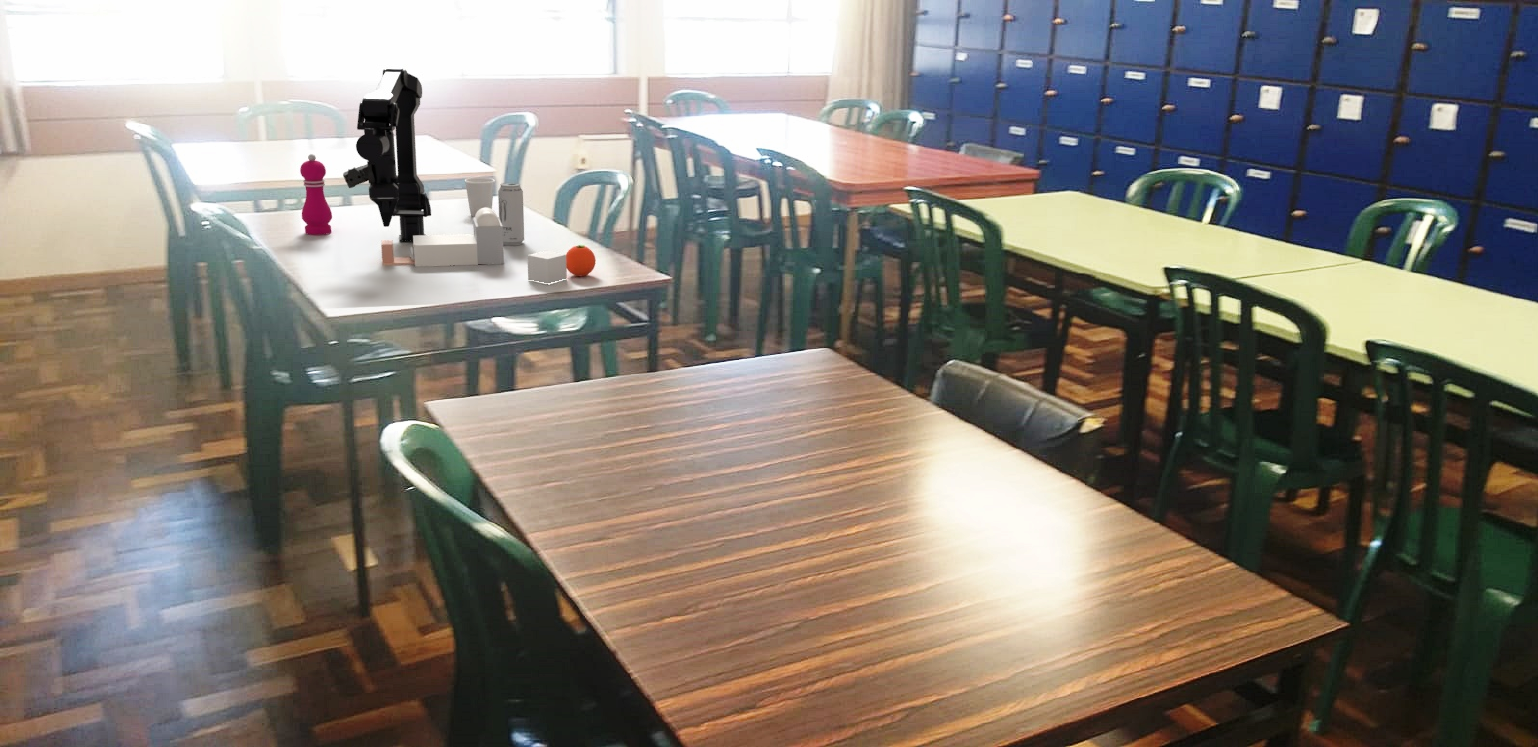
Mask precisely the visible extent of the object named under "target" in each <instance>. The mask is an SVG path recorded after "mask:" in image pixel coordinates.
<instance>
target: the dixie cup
mask: <svg viewBox="0 0 1538 747" xmlns="http://www.w3.org/2000/svg"><path fill="white" fill-rule="evenodd" d="M495 182H496V180H495V179H494V178H490V177H469V178H465V179H464V183H465V189H466V194H467V195H466V196H467V201H468V206H469V212H470V213H469V214H470V216H471V217H473V218H475V216H476V213H477V211H478V210H480V209H481V208H485V207H486V208H490V209H492V210H493V201H494V200H493V199H494V190H495V189H494V187H495Z"/></svg>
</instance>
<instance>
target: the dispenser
mask: <svg viewBox="0 0 1538 747" xmlns="http://www.w3.org/2000/svg"><path fill="white" fill-rule="evenodd" d="M472 220H473V221H472V222H473V225H472V226H473V228H472V229H473V233H468V234H467V233H464V234H463V233H462V234H426V235H416V236H413V241H412V242H413V243H412V244H413V246H410V248H409V251H410V257H411V259H412V260H414V259H415V265H414V266H415V268H418V267H419V268H420V267H449V266H450V265H451V267H452V266H453V265H455V266H477V265H478V264H488V265H505V256H504V255H505V252H504V249H505V248H504V245H503V226H502V223H501V221H500V219H499V216H498V215H497V213H496V212H495V210H493V208H492V209H490V208H486V207H485V208H481V209H480V210H478V211H477V213H476V216H475V217H472ZM501 263H503V264H501ZM478 266H479V265H478Z"/></svg>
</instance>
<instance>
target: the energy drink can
mask: <svg viewBox="0 0 1538 747" xmlns="http://www.w3.org/2000/svg"><path fill="white" fill-rule="evenodd" d="M497 192H498V194H497V195H498V196H497V198H498V217H499V219H500V221H501V223H502V226H503V246H511V247H512V246H515V247H516V246H520V245H522V244H523V242H524V241H525V223H524V222H525V217H524V190H523V189H522V187H521V184H520V183H517V182H502V183H500V186H499V189H498V191H497Z"/></svg>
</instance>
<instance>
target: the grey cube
mask: <svg viewBox="0 0 1538 747" xmlns="http://www.w3.org/2000/svg"><path fill="white" fill-rule="evenodd" d="M567 271H568V269H567V267H566V253H560V252H559V253H558V252H555V251H549V250H544V251H539V252H535V253H531V254H528V255H527V276H528V277H527V280H534V281H539V282H544V283H551V282H555V281H559V280H562V279H566V278H567V277H568V275H567ZM567 279H568V278H567Z"/></svg>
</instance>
